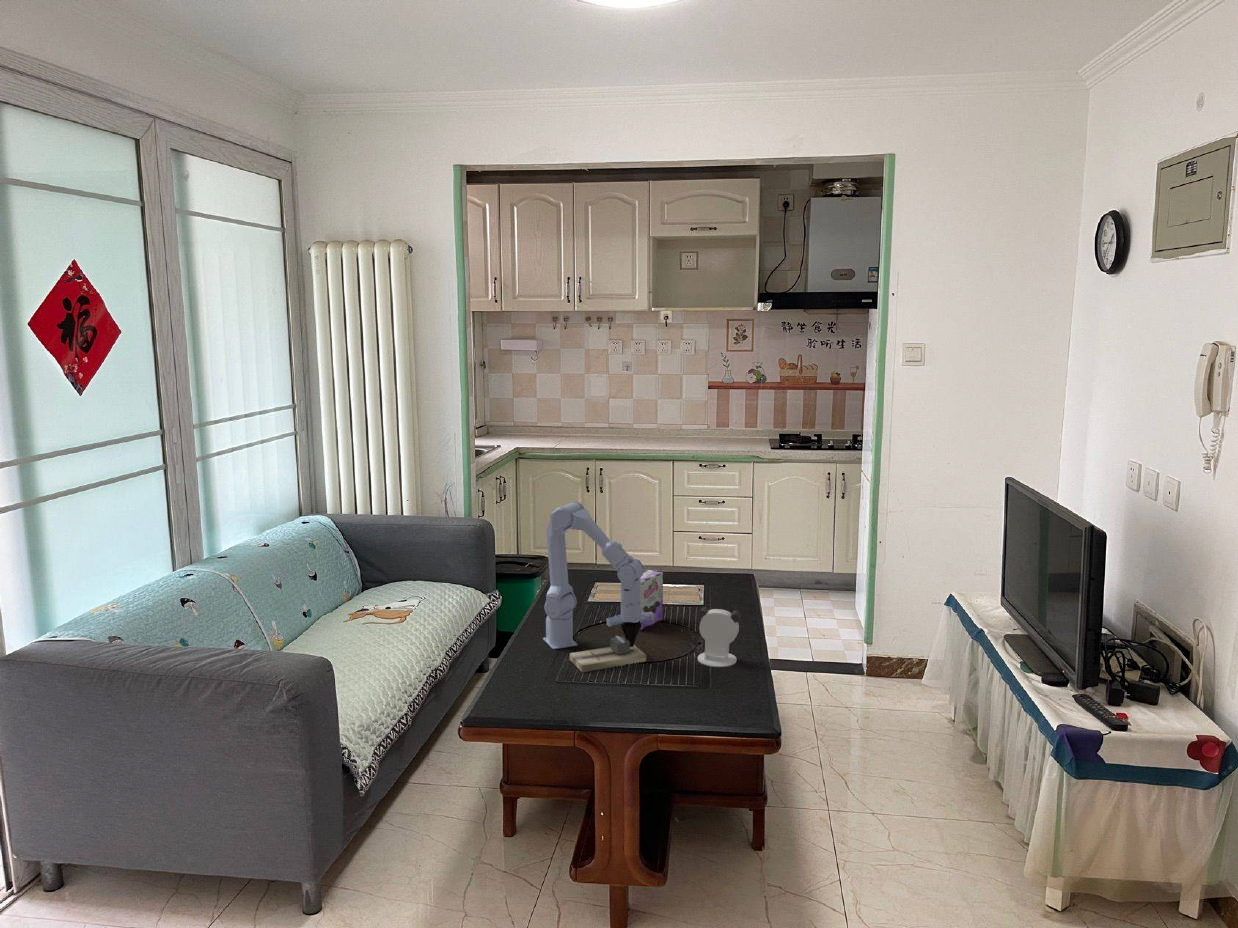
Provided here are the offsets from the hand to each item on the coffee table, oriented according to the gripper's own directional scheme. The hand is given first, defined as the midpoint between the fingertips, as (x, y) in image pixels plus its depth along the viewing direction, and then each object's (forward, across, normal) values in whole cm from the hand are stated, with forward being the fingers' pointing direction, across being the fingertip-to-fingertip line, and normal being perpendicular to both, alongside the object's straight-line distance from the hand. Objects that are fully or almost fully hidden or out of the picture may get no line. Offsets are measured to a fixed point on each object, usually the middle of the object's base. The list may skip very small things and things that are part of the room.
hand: (630, 645), depth 258 cm
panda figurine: (+4, +23, -12) cm, 26 cm away
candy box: (+4, +16, +24) cm, 29 cm away
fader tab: (+1, -3, 0) cm, 3 cm away
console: (+3, -7, 0) cm, 8 cm away
